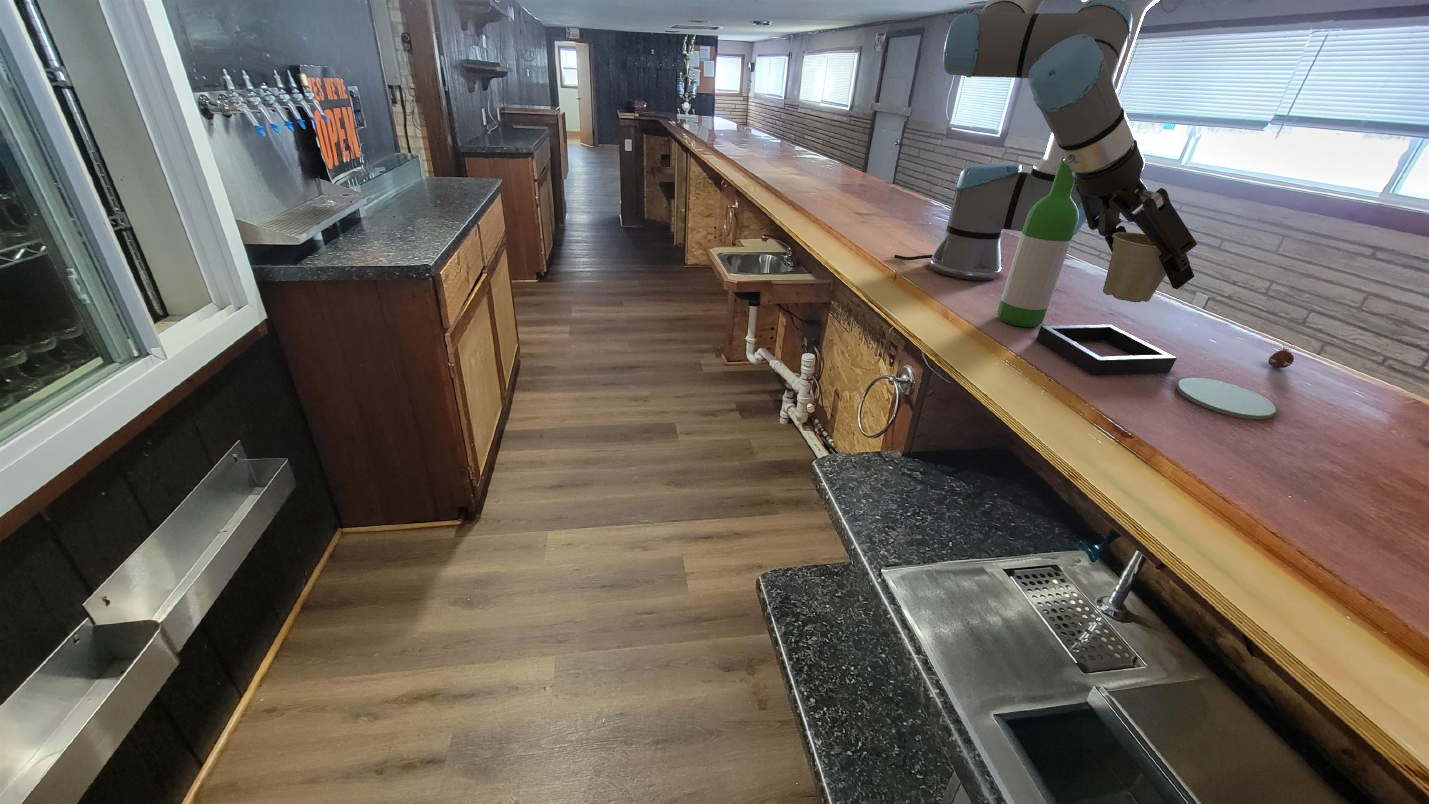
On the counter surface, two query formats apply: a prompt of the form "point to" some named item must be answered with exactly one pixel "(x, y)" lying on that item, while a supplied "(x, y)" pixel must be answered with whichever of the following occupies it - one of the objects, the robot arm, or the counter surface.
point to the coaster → (1226, 398)
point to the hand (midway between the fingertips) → (1154, 271)
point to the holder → (1140, 361)
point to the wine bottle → (1040, 254)
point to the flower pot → (1133, 268)
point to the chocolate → (1282, 358)
